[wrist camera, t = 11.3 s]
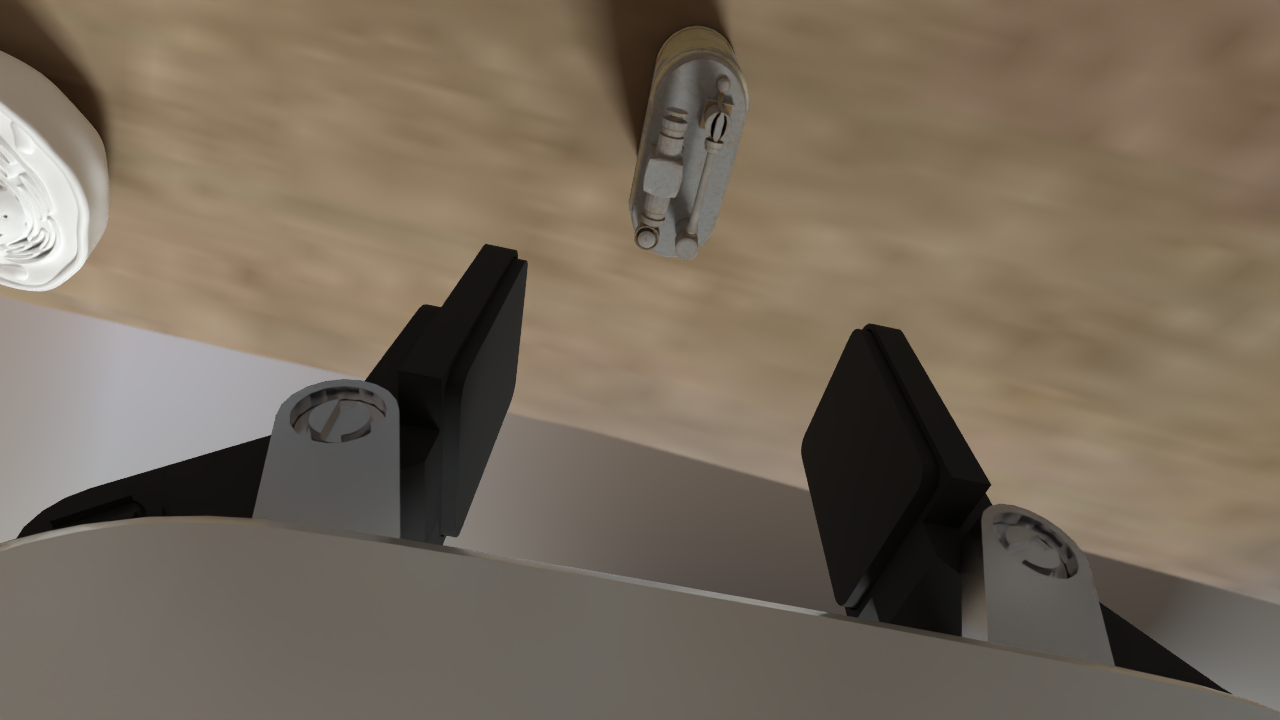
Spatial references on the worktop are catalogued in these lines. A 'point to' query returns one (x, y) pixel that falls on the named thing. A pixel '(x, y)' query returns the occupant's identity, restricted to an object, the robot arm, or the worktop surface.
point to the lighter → (687, 142)
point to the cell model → (46, 181)
